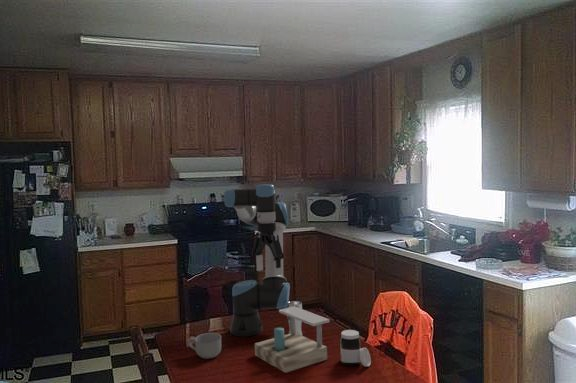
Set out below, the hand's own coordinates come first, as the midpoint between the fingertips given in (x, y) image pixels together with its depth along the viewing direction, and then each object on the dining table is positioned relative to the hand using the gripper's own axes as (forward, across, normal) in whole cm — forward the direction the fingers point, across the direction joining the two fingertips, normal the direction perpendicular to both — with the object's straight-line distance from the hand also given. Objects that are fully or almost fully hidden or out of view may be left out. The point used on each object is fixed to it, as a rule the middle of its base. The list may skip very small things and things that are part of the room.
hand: (268, 273), depth 206 cm
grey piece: (+28, +11, +9) cm, 31 cm away
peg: (+32, +11, -3) cm, 34 cm away
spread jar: (+33, +32, +18) cm, 49 cm away
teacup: (+33, -13, -24) cm, 43 cm away
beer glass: (+33, -8, +18) cm, 38 cm away
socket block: (+33, +11, +2) cm, 35 cm away
